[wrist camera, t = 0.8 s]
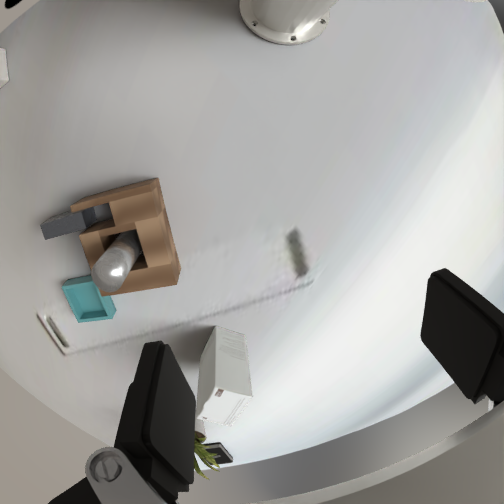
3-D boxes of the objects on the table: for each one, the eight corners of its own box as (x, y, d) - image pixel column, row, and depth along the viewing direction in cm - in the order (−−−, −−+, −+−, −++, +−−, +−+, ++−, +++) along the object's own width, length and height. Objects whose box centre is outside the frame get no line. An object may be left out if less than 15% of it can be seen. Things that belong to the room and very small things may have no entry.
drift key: (52, 216, 38) (40, 224, 35) (92, 204, 39) (81, 212, 35) (57, 230, 39) (45, 239, 36) (96, 219, 40) (86, 228, 36)
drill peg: (118, 229, 41) (86, 263, 30) (142, 223, 41) (115, 258, 30) (125, 253, 42) (98, 294, 31) (149, 249, 42) (127, 289, 31)
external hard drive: (210, 459, 69) (210, 465, 67) (195, 443, 65) (195, 449, 63) (233, 456, 69) (233, 462, 67) (220, 440, 64) (220, 446, 63)
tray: (67, 279, 43) (61, 286, 40) (101, 273, 43) (95, 280, 41) (83, 314, 46) (78, 322, 43) (116, 310, 46) (112, 318, 44)
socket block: (84, 197, 38) (69, 206, 33) (158, 177, 38) (149, 184, 34) (111, 280, 44) (101, 296, 39) (181, 268, 44) (176, 284, 39)
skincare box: (228, 364, 53) (232, 428, 39) (198, 355, 51) (194, 421, 37) (247, 332, 50) (256, 398, 36) (214, 322, 48) (213, 389, 35)
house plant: (167, 433, 61) (163, 487, 46) (146, 401, 56) (136, 462, 41) (223, 429, 62) (226, 486, 47) (209, 396, 56) (209, 462, 41)
